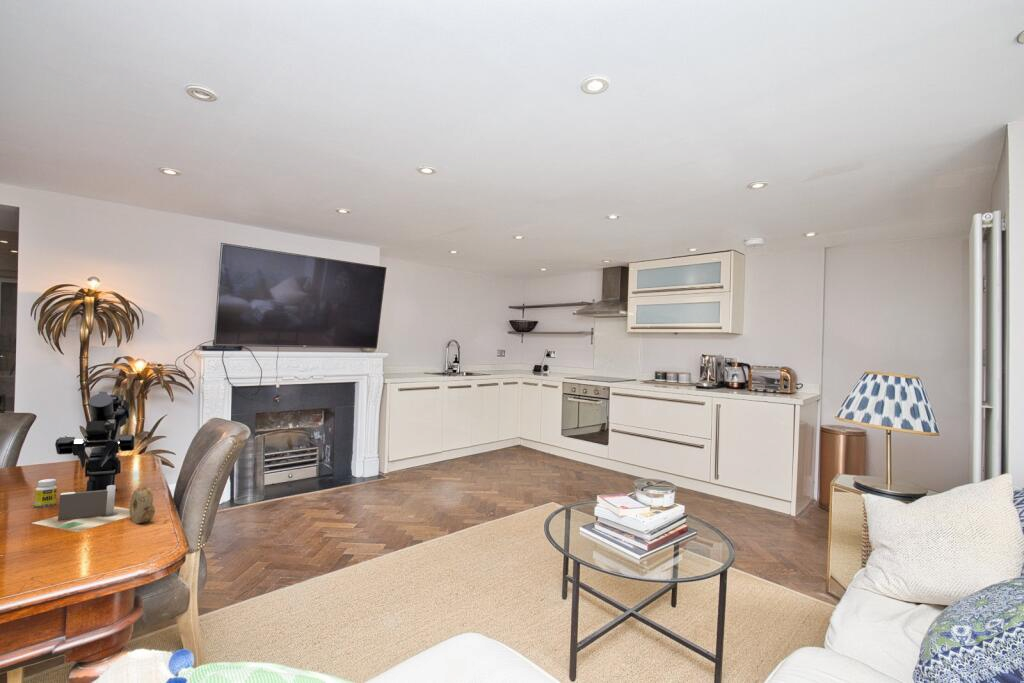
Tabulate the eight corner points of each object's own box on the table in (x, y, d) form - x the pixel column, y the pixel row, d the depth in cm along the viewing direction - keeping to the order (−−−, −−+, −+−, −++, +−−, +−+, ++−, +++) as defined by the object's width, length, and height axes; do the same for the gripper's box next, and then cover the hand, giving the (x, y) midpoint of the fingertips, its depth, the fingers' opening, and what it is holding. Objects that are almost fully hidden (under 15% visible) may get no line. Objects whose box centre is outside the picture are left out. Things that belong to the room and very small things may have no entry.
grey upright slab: (113, 512, 138) (116, 484, 139) (112, 514, 137) (115, 486, 137) (59, 518, 132) (61, 489, 132) (57, 520, 130) (60, 491, 130)
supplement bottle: (40, 510, 139) (43, 483, 140) (29, 509, 140) (31, 481, 141) (59, 506, 144) (61, 479, 144) (47, 504, 145) (50, 477, 145)
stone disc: (125, 520, 135) (128, 486, 135) (140, 517, 138) (143, 483, 138) (139, 528, 129) (141, 493, 130) (154, 525, 132) (157, 490, 133)
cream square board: (102, 506, 145) (102, 504, 145) (145, 513, 141) (145, 511, 141) (31, 525, 128) (31, 522, 128) (77, 534, 124) (77, 531, 124)
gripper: (59, 411, 142) (46, 454, 132) (136, 410, 152) (129, 449, 142) (63, 433, 148) (51, 475, 138) (137, 430, 158) (130, 469, 149)
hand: (91, 466), depth 142 cm, fingers open, 4 cm apart
